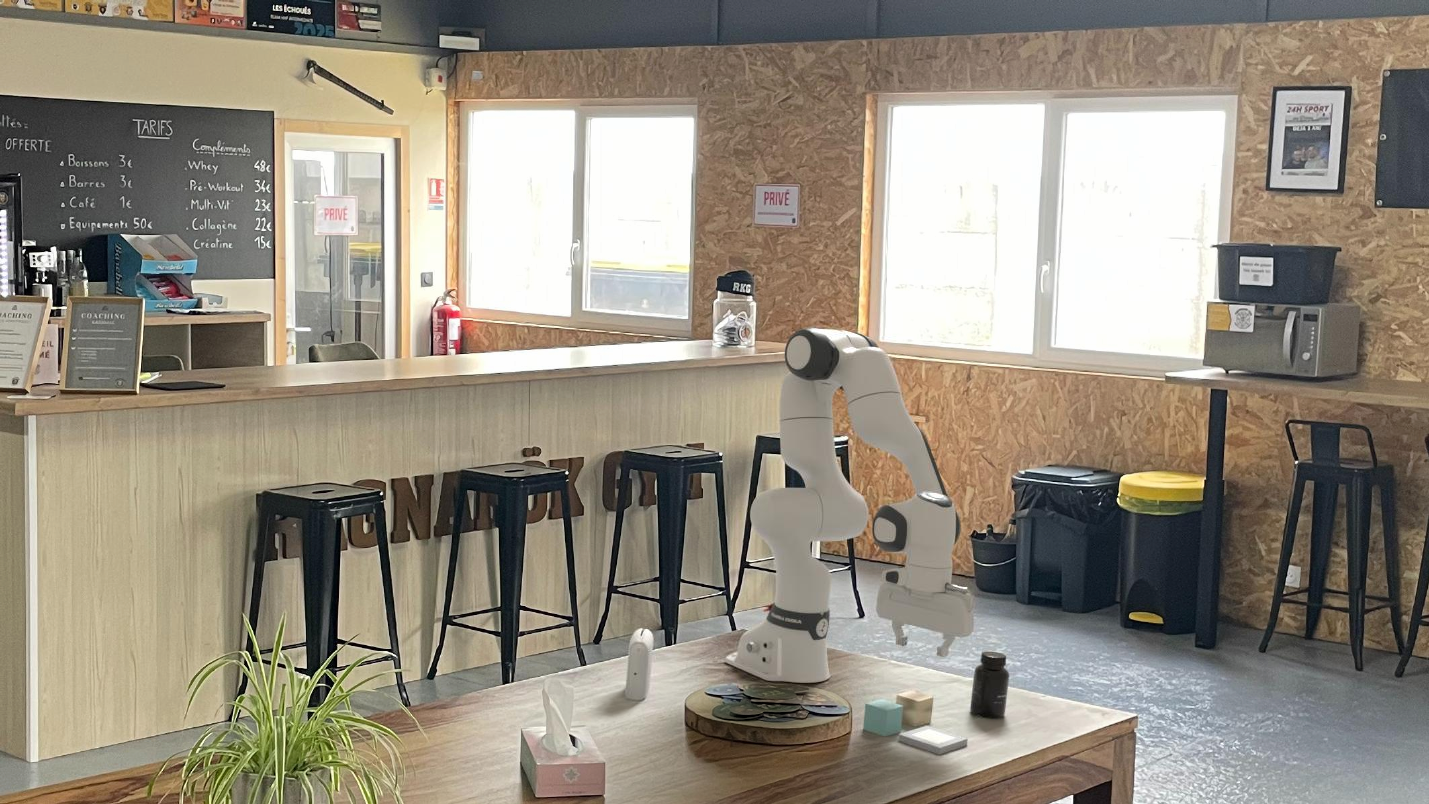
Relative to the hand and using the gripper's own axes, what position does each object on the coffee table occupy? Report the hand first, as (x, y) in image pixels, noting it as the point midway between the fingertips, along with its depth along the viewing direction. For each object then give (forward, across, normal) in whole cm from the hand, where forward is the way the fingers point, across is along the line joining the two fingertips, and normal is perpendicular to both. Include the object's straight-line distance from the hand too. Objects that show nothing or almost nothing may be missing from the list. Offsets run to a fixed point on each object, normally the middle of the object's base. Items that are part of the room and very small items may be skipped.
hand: (921, 650), depth 301 cm
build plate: (+14, -9, +8) cm, 19 cm away
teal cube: (+14, +1, +10) cm, 17 cm away
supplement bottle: (+14, -5, -17) cm, 23 cm away
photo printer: (+14, +42, +33) cm, 55 cm away
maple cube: (+14, +1, 0) cm, 14 cm away
